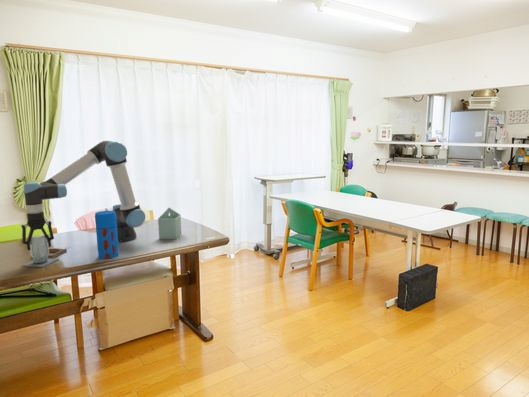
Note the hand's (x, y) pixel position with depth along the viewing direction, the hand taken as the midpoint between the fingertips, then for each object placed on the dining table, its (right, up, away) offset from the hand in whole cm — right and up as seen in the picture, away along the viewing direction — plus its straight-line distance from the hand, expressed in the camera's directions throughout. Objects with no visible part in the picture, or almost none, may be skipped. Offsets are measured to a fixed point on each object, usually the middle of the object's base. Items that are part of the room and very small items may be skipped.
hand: (40, 254), depth 199 cm
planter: (+59, +4, +49) cm, 77 cm away
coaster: (0, -5, +1) cm, 5 cm away
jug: (+1, -4, -1) cm, 4 cm away
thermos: (+31, -3, +12) cm, 34 cm away
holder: (-3, -3, +14) cm, 15 cm away
